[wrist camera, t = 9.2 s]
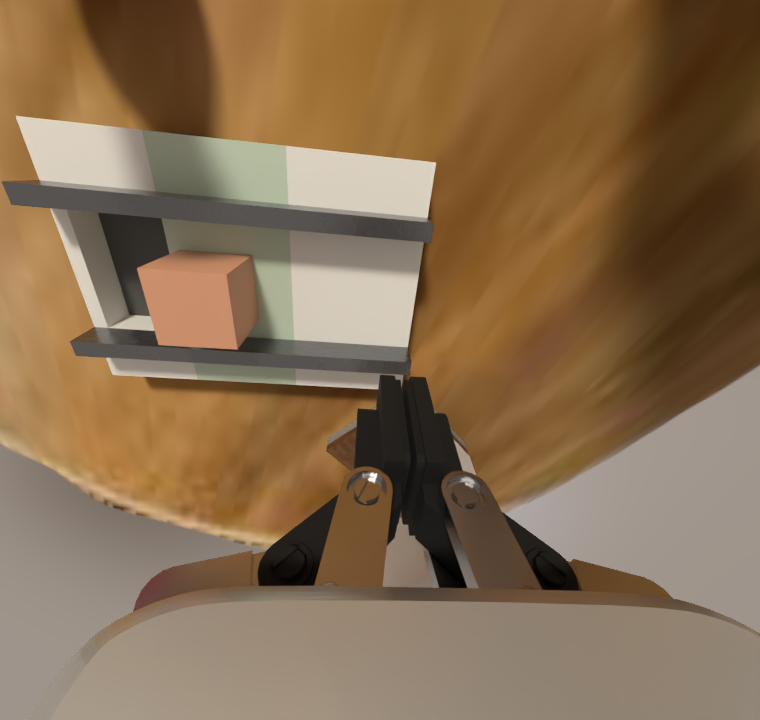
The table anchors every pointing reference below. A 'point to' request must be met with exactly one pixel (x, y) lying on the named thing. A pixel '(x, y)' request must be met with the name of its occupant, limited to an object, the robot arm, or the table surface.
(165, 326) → the terracotta block
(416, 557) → the display case
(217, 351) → the channel walls
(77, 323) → the table surface
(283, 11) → the table surface
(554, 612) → the robot arm
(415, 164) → the channel deck
